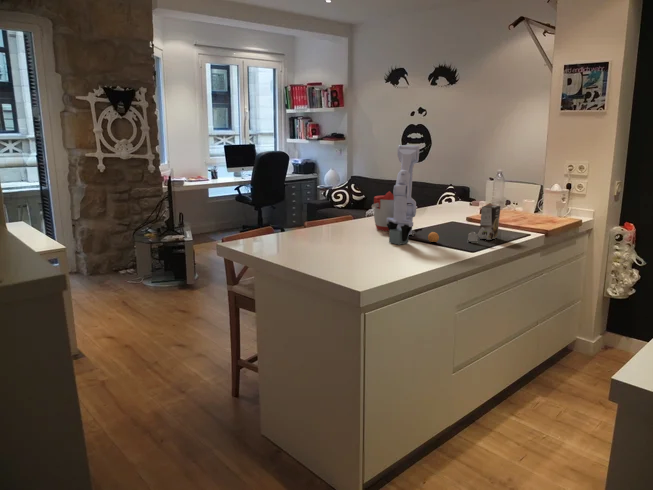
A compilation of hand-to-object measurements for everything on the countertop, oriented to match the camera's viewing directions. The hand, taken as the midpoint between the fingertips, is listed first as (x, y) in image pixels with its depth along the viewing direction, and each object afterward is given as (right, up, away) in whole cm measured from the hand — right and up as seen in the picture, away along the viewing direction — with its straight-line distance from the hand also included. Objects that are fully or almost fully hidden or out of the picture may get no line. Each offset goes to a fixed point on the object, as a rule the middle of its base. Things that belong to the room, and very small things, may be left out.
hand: (398, 239), depth 236 cm
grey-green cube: (0, -1, 0) cm, 1 cm away
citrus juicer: (-2, +5, +32) cm, 33 cm away
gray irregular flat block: (+36, -2, +3) cm, 36 cm away
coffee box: (+46, 0, +13) cm, 47 cm away
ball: (+16, +1, +2) cm, 17 cm away
